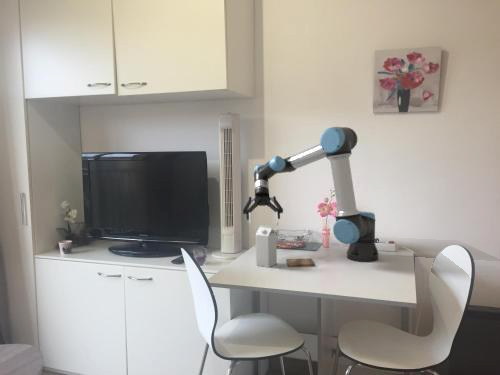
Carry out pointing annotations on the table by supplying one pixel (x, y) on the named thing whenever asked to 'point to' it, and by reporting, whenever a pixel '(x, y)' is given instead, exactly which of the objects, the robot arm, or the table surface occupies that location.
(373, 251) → the robot arm
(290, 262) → the walnut board
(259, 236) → the milk carton
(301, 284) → the table surface
